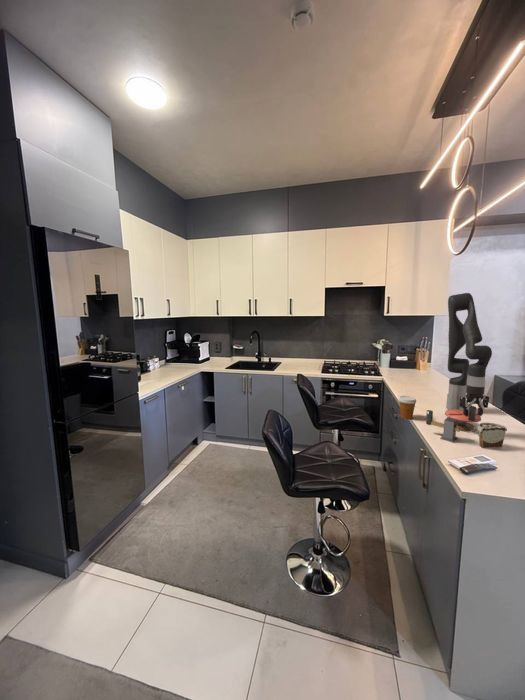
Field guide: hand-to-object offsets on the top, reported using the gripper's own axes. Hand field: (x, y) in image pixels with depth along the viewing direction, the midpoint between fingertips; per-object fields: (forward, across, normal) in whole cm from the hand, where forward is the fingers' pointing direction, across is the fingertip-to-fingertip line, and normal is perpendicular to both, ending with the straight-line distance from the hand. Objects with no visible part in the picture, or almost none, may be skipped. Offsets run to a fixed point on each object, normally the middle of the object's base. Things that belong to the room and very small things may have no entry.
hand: (472, 415), depth 148 cm
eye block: (+9, -16, -6) cm, 19 cm away
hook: (+4, -18, -3) cm, 19 cm away
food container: (+9, -3, -13) cm, 16 cm away
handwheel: (+7, 0, +7) cm, 10 cm away
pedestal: (+9, 0, +7) cm, 12 cm away
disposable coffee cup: (+9, -22, +23) cm, 33 cm away
